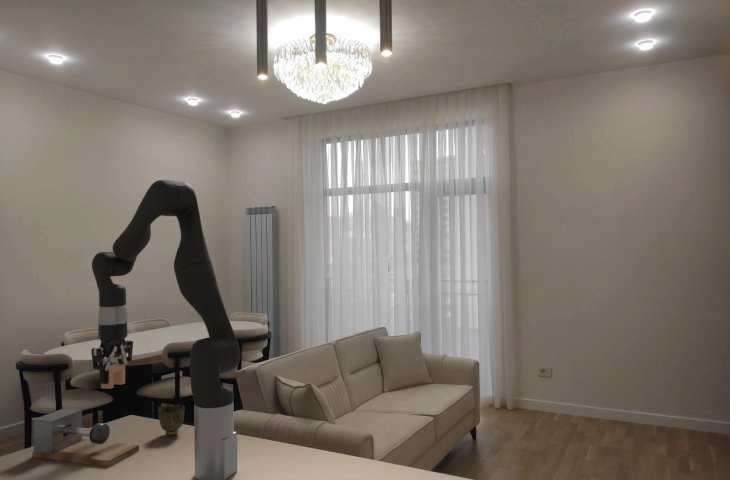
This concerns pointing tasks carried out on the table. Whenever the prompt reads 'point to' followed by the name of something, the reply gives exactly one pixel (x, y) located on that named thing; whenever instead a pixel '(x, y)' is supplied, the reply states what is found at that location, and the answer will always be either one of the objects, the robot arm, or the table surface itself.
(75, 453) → the baseboard
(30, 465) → the table surface
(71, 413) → the block
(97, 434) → the shaft
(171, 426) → the cup
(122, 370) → the spacer
